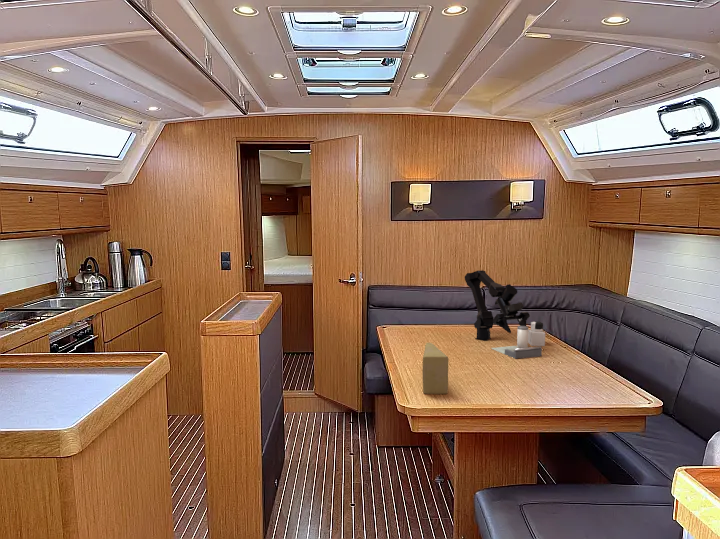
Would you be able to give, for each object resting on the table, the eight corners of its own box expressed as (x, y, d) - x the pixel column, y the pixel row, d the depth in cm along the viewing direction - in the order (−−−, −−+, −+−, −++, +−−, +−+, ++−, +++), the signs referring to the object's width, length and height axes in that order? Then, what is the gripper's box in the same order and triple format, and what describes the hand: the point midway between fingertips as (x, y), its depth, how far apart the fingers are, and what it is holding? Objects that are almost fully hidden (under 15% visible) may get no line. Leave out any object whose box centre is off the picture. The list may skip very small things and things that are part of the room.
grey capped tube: (515, 355, 238) (515, 326, 237) (518, 352, 242) (519, 325, 241) (525, 356, 235) (526, 328, 234) (528, 354, 239) (529, 326, 238)
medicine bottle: (541, 342, 262) (542, 320, 261) (545, 346, 255) (545, 323, 254) (527, 342, 263) (528, 320, 262) (531, 345, 256) (531, 323, 255)
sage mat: (491, 348, 250) (491, 348, 250) (515, 346, 255) (515, 345, 255) (504, 354, 240) (504, 353, 240) (529, 351, 245) (529, 350, 245)
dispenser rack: (504, 354, 240) (504, 345, 239) (530, 351, 244) (530, 342, 244) (515, 359, 232) (515, 349, 231) (541, 356, 236) (541, 346, 236)
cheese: (416, 375, 207) (417, 341, 205) (439, 376, 207) (440, 341, 205) (422, 394, 185) (423, 355, 183) (448, 394, 185) (449, 355, 183)
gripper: (496, 298, 241) (509, 324, 232) (528, 296, 247) (542, 321, 238) (487, 311, 249) (499, 337, 240) (518, 309, 255) (531, 334, 246)
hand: (518, 332), depth 241 cm, fingers open, 9 cm apart
